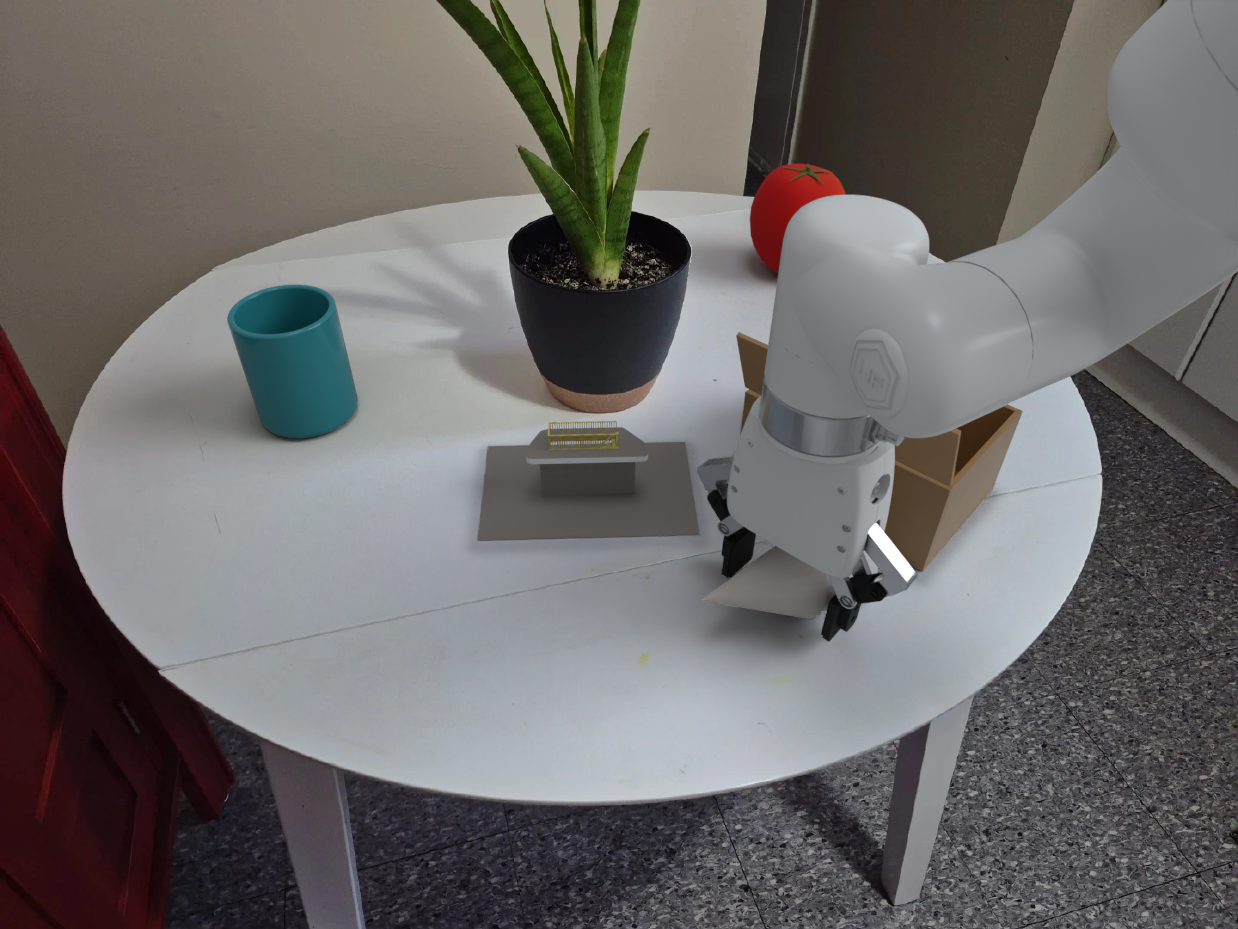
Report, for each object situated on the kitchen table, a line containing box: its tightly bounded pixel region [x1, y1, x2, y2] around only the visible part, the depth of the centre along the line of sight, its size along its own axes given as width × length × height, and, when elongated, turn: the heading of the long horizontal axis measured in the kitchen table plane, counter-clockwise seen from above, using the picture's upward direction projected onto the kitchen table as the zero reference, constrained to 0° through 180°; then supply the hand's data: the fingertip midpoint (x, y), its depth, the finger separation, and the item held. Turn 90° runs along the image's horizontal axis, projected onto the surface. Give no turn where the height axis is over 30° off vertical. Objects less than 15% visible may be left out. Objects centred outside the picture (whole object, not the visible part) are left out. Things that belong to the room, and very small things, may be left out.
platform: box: [477, 420, 701, 541], centre depth 73 cm, size 12×18×7 cm, turn 92°
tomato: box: [749, 163, 847, 274], centre depth 101 cm, size 11×11×13 cm
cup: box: [226, 284, 359, 439], centre depth 80 cm, size 9×12×11 cm
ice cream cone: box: [700, 545, 879, 620], centre depth 63 cm, size 6×6×15 cm
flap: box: [735, 331, 961, 486], centre depth 64 cm, size 18×6×1 cm
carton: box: [739, 389, 1023, 572], centre depth 73 cm, size 18×13×8 cm
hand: (784, 595), depth 64 cm, fingers open, 8 cm apart
